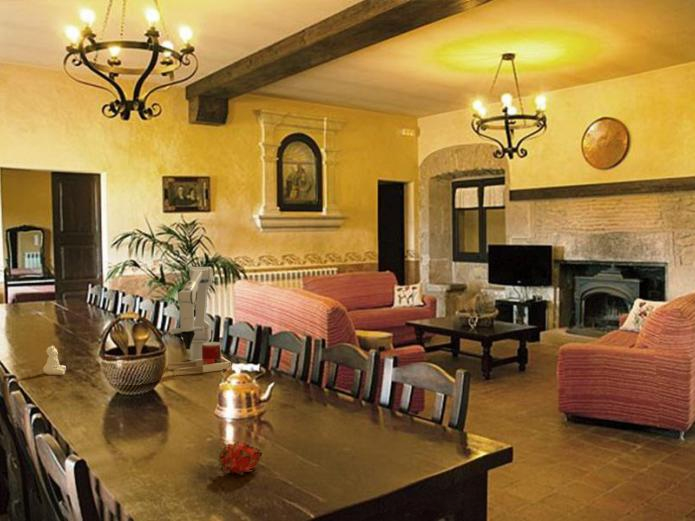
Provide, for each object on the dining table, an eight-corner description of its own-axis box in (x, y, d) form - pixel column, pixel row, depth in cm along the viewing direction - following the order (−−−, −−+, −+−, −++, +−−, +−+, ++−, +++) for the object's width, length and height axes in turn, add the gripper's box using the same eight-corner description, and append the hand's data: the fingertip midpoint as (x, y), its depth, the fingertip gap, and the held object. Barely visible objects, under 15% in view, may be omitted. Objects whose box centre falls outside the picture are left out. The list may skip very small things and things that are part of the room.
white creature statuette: (64, 374, 255) (64, 346, 254) (42, 376, 251) (41, 348, 251) (66, 369, 263) (65, 342, 263) (44, 371, 260) (43, 344, 260)
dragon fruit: (214, 483, 149) (258, 479, 155) (227, 472, 143) (272, 468, 150) (210, 449, 153) (253, 446, 160) (222, 437, 148) (266, 435, 154)
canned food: (218, 370, 262) (218, 345, 261) (200, 370, 262) (200, 345, 261) (222, 365, 270) (222, 341, 269) (204, 366, 269) (204, 341, 269)
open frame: (195, 366, 269) (195, 359, 269) (222, 363, 275) (222, 356, 275) (203, 372, 258) (202, 365, 257) (231, 369, 264) (231, 362, 263)
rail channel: (167, 369, 263) (167, 363, 263) (195, 366, 269) (195, 360, 269) (174, 375, 252) (174, 369, 252) (203, 372, 258) (202, 366, 257)
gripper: (172, 320, 253) (172, 352, 254) (206, 317, 260) (206, 348, 261) (168, 318, 259) (169, 349, 260) (201, 315, 266) (202, 345, 267)
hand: (187, 348), depth 261 cm, fingers closed
